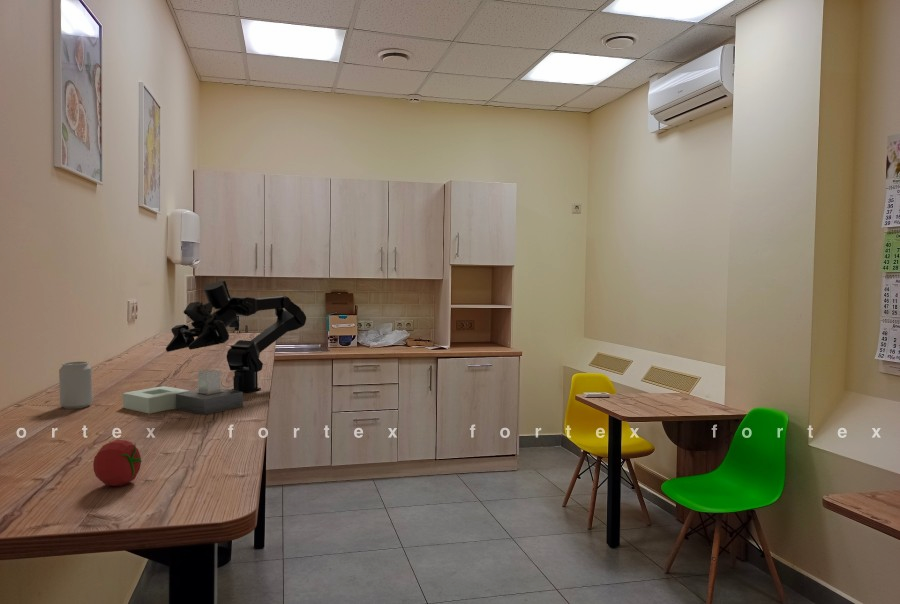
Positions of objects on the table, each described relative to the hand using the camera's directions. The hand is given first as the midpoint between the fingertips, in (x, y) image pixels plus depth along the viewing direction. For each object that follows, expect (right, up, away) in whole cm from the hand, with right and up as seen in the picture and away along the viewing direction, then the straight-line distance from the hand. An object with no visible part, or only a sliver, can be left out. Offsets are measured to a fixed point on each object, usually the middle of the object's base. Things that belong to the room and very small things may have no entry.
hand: (177, 349), depth 167 cm
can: (-28, -16, +1) cm, 32 cm away
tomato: (+16, -19, -59) cm, 64 cm away
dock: (-6, -16, +1) cm, 17 cm away
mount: (+9, -16, 0) cm, 18 cm away
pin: (+9, -16, 0) cm, 18 cm away
